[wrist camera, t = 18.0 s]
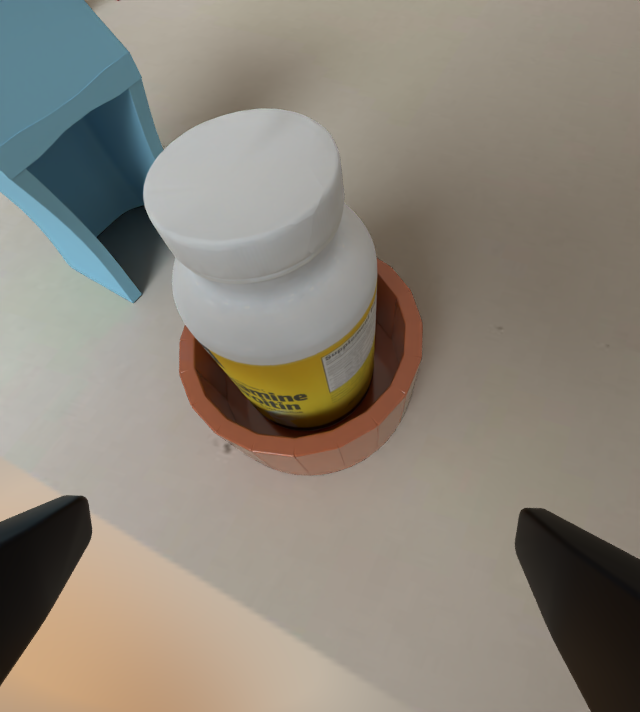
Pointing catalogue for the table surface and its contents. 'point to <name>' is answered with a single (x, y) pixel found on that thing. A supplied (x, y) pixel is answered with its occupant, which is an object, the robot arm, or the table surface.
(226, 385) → the bowl
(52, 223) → the stacked u-channel piece
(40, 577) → the robot arm
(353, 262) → the pill bottle
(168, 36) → the table surface
